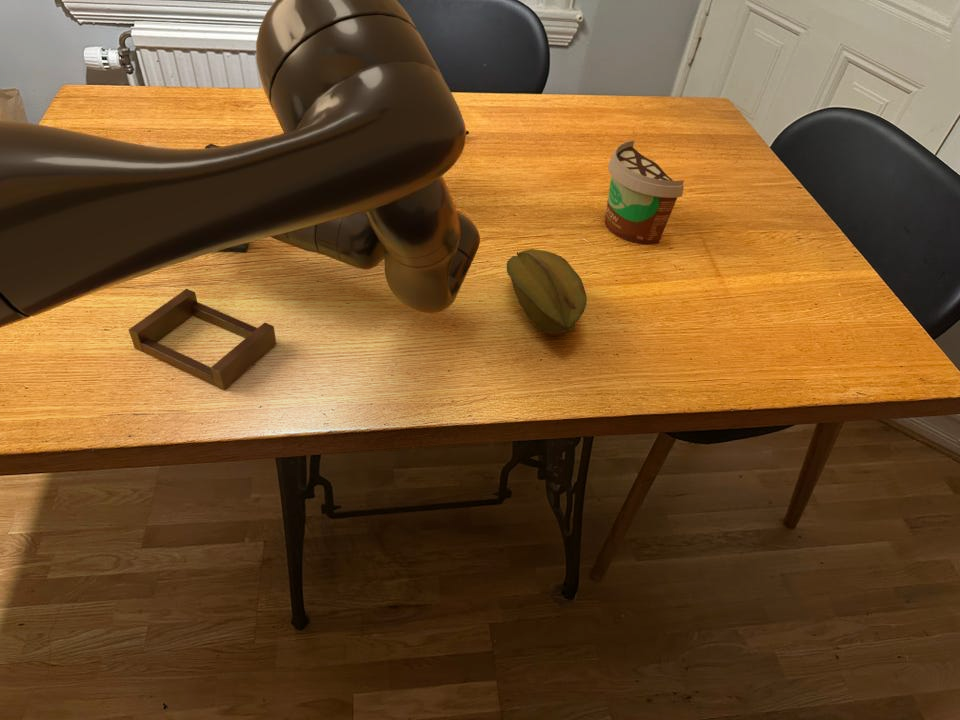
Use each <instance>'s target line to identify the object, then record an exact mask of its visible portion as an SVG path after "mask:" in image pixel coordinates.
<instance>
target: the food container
mask: <svg viewBox="0 0 960 720" xmlns="http://www.w3.org/2000/svg"><path fill="white" fill-rule="evenodd" d="M634 145H635V139H632V140H627V141H625V142H623V143H621V144H620V145H618V146H617V148H616V149H615V150H614V151H613V153H612V154H611V155H612V156H611V158H610V160H609V161H608V165H607V169H608V173H609V175H610V176H611V177H610V184H609V188H608V189H609V190H608V196H607V203H606V209H605V217H604V225H605V226H606V228H607V230H608V231H609V232H610V233H612V234H613V235H614V236H616V237H618V238H620V239H622V240H625V241H627V242H630V243H634V244H641V245H655V244H659V243H660V241H661V238H662V236H663V234H664V231H665V229H666V226H667V225H668V222H669V220H670V217H671V214H672V211H673V210H674V207H675V205H676V202H677V200H678V198H682V197H683V193H684V189H685V188H684V187H685V185H684V182H685V180H684V179H681V180H674V179H672V178H671V177H670V176H669V175H668V174H667V173H666V172H665V171H664V170H663V169H662V167H660V165H659V164H658V163H656V162H655V161H653V160H652V159H650V158H648V157H646V156H644V155H643V154H641V153H640V152H639V151H638V150H637V149H636V148H634Z"/></svg>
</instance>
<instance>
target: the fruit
mask: <svg viewBox="0 0 960 720" xmlns="http://www.w3.org/2000/svg"><path fill="white" fill-rule="evenodd" d="M506 271H507V274H508V275H507V276H508V277H509V278H510V281H511V284H512V288H513V290H514V293H515V296H516V298H517V300H518V303H519V305H520V306H521V308H522V309H523V312H524V314H525V315H526V317H527V319H528V320H529V321H530V322H531V323H532V324H533V325H534V326H535V327H536V329H538V330H539V331H541V332H543V333H545V334H548V335H552V334H553V335H554V334H561V333H563V332H568V333H575V332H576V331H577V326H576V325H577V324H576V323H578V321H579V320H580V318H581V317H582V316H583V314H584V312H585V309H586V306H587V301H588V300H587V299H588V297H587V293H586V289H585V287H584V282H583V281H582V278H581V277H580V275H579V273H577V271H576V270H574V268H573V267H572V265H571V264H570V263H569V261H567V260H566V259H565V258H563V257H562V256H561V255H559V254H557V253H554V252H550V251H547V250H542V249H535V248H529V249H525V250H522V251H520V252H518V251H516V255H512V256H511V257H510V258H509V259H508V260H507V261H506Z"/></svg>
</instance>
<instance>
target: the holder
mask: <svg viewBox="0 0 960 720" xmlns="http://www.w3.org/2000/svg"><path fill="white" fill-rule="evenodd" d="M197 298H198V297H197V294H196V292H195V291H193V290H190V289H189V288H185V289H184V290H183V291H181V292H180V293H178V294H176V295H175V296H174V297H173V298H171V299H169V300H168V301H166V302H165V303H164V304H162V305H161V306H160V307H158V308H157V309H155V310H154V311H152V312H151V313H150V314H148V315H147V316H145V317H144V318H143V319H141V320H140V321H139V322H136V324H134V325H133V326H131V327H130V328H129V329H128V333H129V335H130V338H131V342H132V344H133V348H134V349H136V350H138V351H139V352H142V353H145V354H146V355H148V356H151V357H153V358H156V359H158V360H160V361H161V362H164V363H166V364H168V365H171V366H172V367H175V368H176V369H179V370H181V371H183V372H185V373H187V374H189V375H192V376H193V377H196V378H197V379H200V380H202V381H204V382H206V383H208V384H210V385H213V386H215V387H217V388H219V389H221V390H223V391H225V390H226V389H227V388H228V387H230V386H231V385H232V384H233V383H234V382H235V381H236V380H238V378H240V377H241V376H242V375H243V374H244V373H245V372H246V371H248V370H249V369H250V368H251V367H252V366H253V365H254V364H255V363H256V362H258V361H259V360H260V359H261V358H263V356H265V354H267V353H268V352H269V351H270V350H272V348H273V347H274V346H276V345H277V339H276V332H275V326H274V325H272V324H271V323H268V322H263V323H262V324H261V325H260V326H259V327H257V326H254V325H252V324H250V323H247V322H245V321H243V320H240V319H237V318H236V317H233V316H231V315H228V314H226V313H224V312H222V311H219V310H217V309H215V308H212V307H211V306H208V305H205V304H203V303H200V302H198V299H197ZM192 316H195V317H197V318H199V319H202V320H204V321H206V322H208V323H210V324H213V325H215V326H218V327H220V328H222V329H224V330H227V331H229V332H231V333H234V334H236V335H238V336H239V337H242V338H244V339H243V340H242V341H240V342H239V343H238V344H237V345H236V346H235V347H233V348H232V349H231V350H230V351H228V353H226V354H225V355H224V356H223V357H221V358H220V359H219V360H218V361H217V362H216V363H214V364H213V365H212V366H209V365H207V364H205V363H202V362H201V361H198V360H196V359H193V358H191V357H190V356H187V355H185V354H183V353H181V352H178V351H177V350H174V349H172V348H170V347H168V346H166V345H164V344H162V343H160V342H159V341H160V340H162V339H163V338H164V337H166V336H167V335H168V334H170V333H171V332H172V331H173V330H175V329H176V328H177V327H179V326H180V325H182V324H183V323H185V322H186V321H187V320H188V319H189V318H191V317H192Z"/></svg>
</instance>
